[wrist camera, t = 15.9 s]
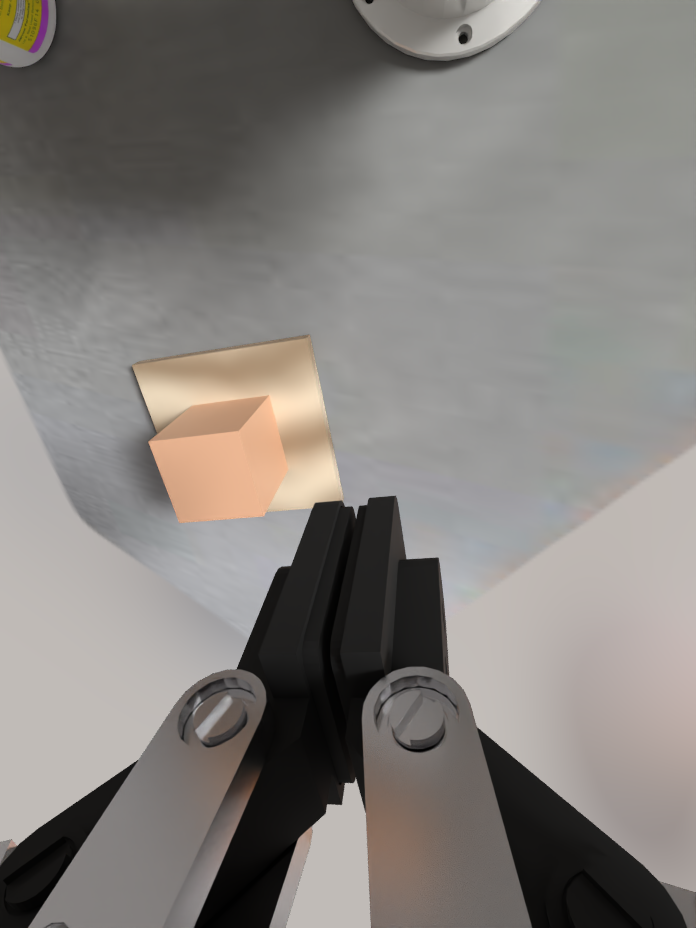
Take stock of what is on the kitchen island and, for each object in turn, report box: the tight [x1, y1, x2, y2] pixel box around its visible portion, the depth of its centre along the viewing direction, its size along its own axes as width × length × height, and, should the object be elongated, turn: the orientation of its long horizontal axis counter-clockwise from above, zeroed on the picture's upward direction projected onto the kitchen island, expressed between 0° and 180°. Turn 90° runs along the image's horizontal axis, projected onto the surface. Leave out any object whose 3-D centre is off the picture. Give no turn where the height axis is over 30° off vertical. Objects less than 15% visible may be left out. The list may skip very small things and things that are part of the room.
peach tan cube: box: [148, 395, 288, 523], centre depth 36 cm, size 6×6×7 cm
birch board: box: [132, 335, 344, 512], centre depth 39 cm, size 14×14×1 cm
